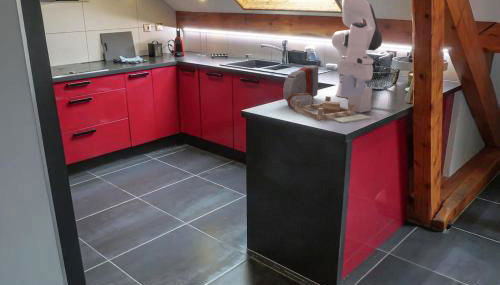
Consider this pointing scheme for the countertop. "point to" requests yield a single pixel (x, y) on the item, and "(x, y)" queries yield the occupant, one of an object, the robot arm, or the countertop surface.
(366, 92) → the soap bottle
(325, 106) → the offcut upper
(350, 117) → the mat
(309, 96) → the tin
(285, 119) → the countertop surface
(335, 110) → the offcut lower
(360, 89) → the lavender grey box
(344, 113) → the rack
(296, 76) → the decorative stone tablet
